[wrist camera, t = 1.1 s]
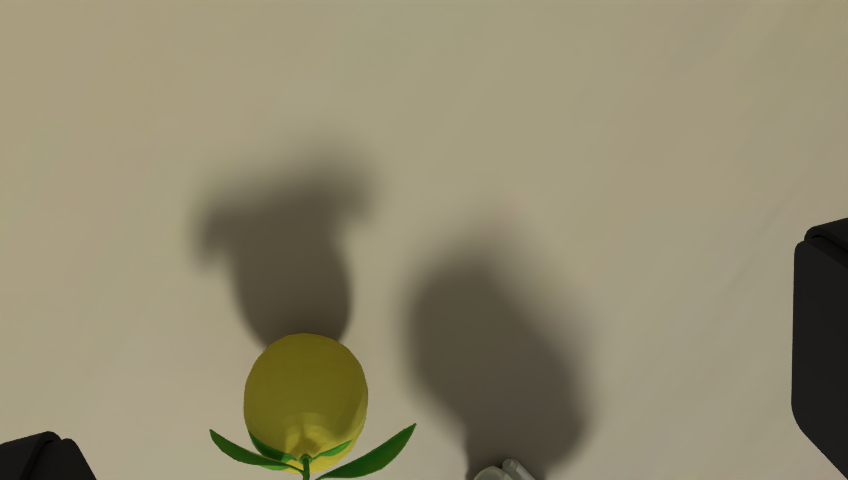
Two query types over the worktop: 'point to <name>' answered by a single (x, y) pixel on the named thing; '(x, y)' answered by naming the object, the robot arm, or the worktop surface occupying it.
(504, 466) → the pneumatic valve
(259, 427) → the lemon
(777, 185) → the worktop surface
